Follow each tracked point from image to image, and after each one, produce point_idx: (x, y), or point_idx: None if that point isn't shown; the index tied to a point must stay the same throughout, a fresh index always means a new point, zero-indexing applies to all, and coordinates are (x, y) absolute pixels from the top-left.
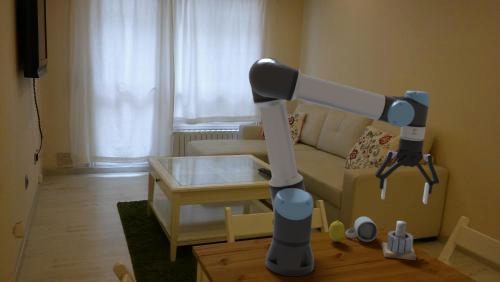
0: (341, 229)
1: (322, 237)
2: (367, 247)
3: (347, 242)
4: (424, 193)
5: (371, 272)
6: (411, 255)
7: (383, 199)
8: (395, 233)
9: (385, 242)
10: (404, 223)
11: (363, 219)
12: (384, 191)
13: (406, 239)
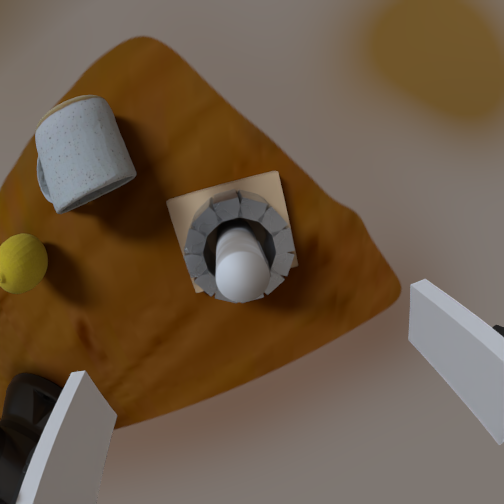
0: (30, 285)
1: (6, 239)
2: (128, 239)
3: (65, 234)
4: (456, 350)
5: (188, 386)
6: None
7: (111, 416)
8: (213, 228)
9: (178, 198)
10: (258, 283)
11: (53, 170)
12: (98, 464)
13: (268, 289)
